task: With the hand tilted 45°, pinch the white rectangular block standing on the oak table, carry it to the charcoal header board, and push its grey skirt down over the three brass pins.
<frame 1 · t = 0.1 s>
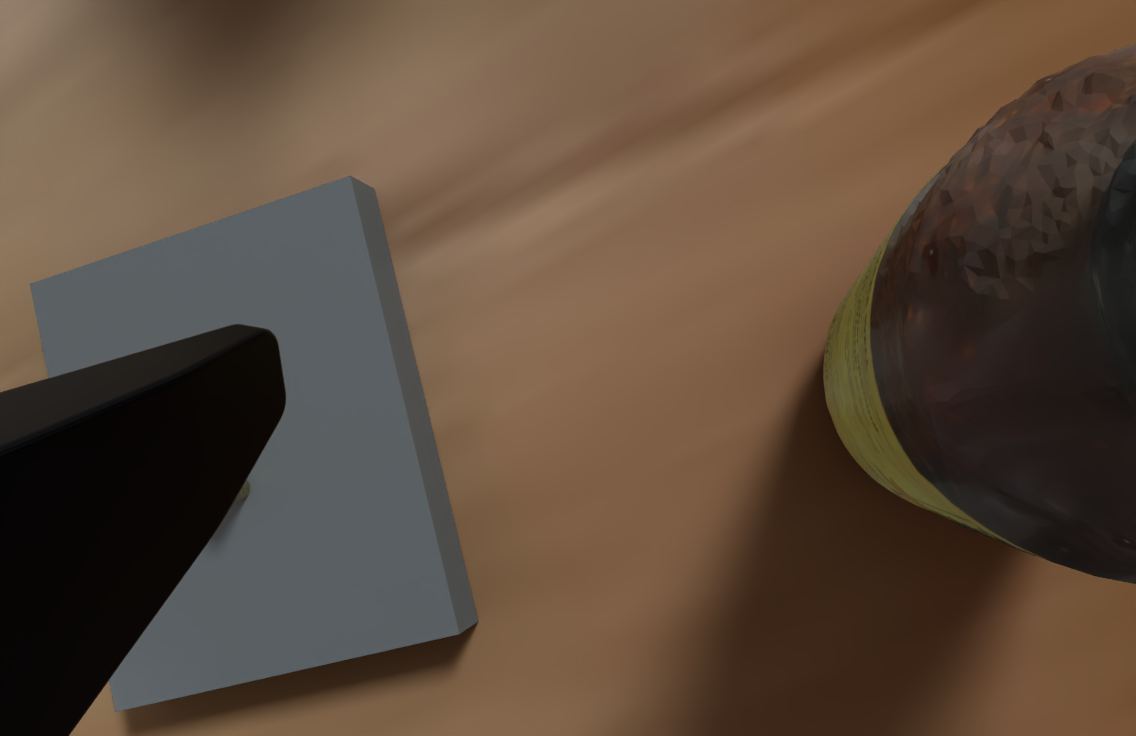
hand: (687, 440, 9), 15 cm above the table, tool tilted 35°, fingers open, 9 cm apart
sauce bottle: (959, 372, 23), on the table
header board: (261, 446, 27), on the table
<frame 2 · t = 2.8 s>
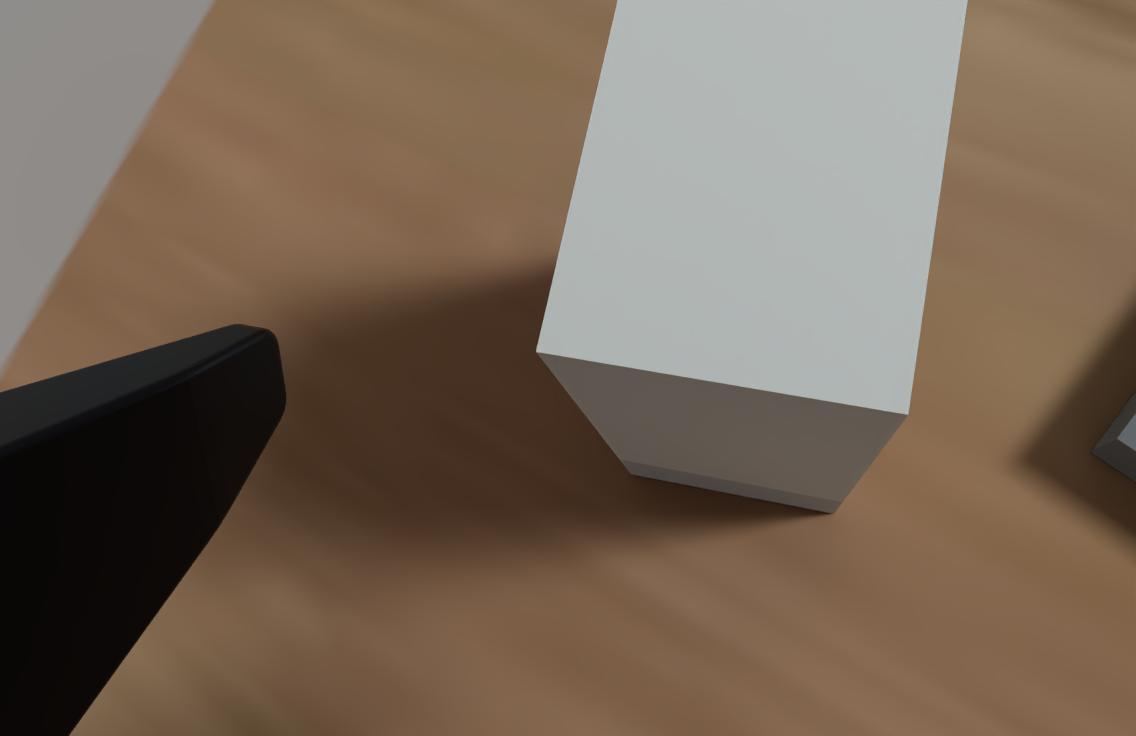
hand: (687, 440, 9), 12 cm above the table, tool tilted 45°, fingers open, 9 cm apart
white rectangular block: (751, 372, 21), on the table
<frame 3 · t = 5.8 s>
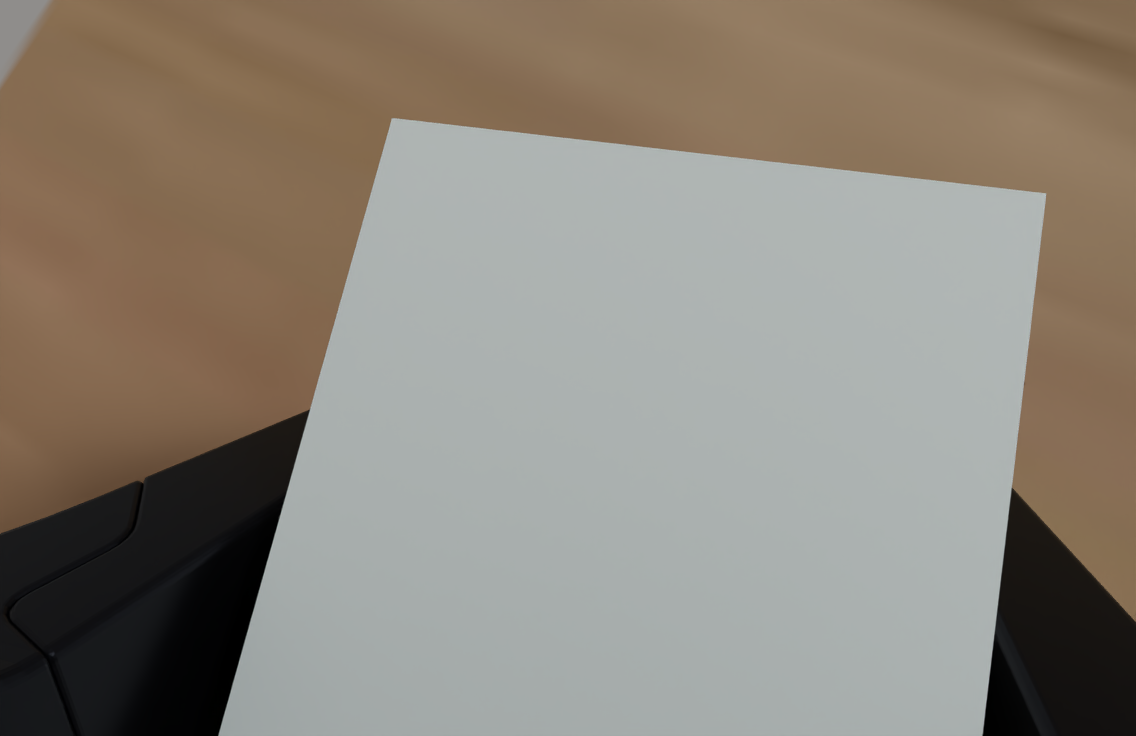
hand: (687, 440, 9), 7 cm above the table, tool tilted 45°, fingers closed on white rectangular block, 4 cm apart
white rectangular block: (696, 600, 15), on the table, touching gripper
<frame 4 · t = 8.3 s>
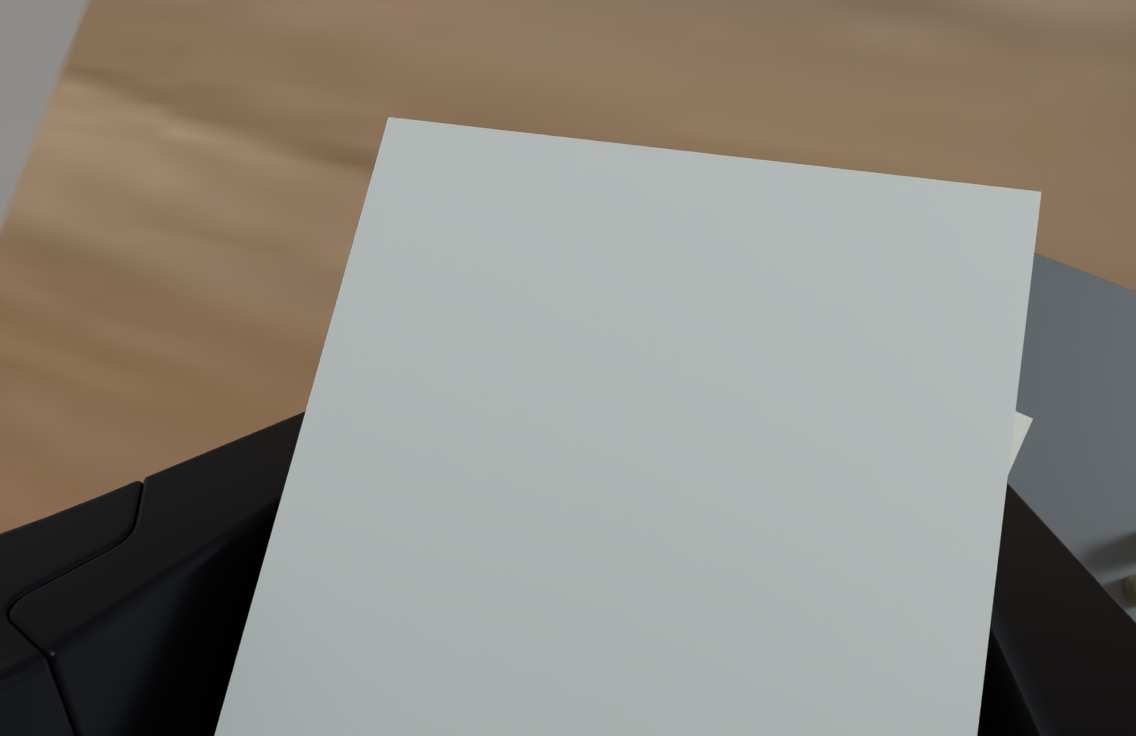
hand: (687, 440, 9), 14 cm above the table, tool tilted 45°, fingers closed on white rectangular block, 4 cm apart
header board: (1111, 592, 21), on the table
white rectangular block: (695, 599, 15), point 7 cm above the table, touching gripper
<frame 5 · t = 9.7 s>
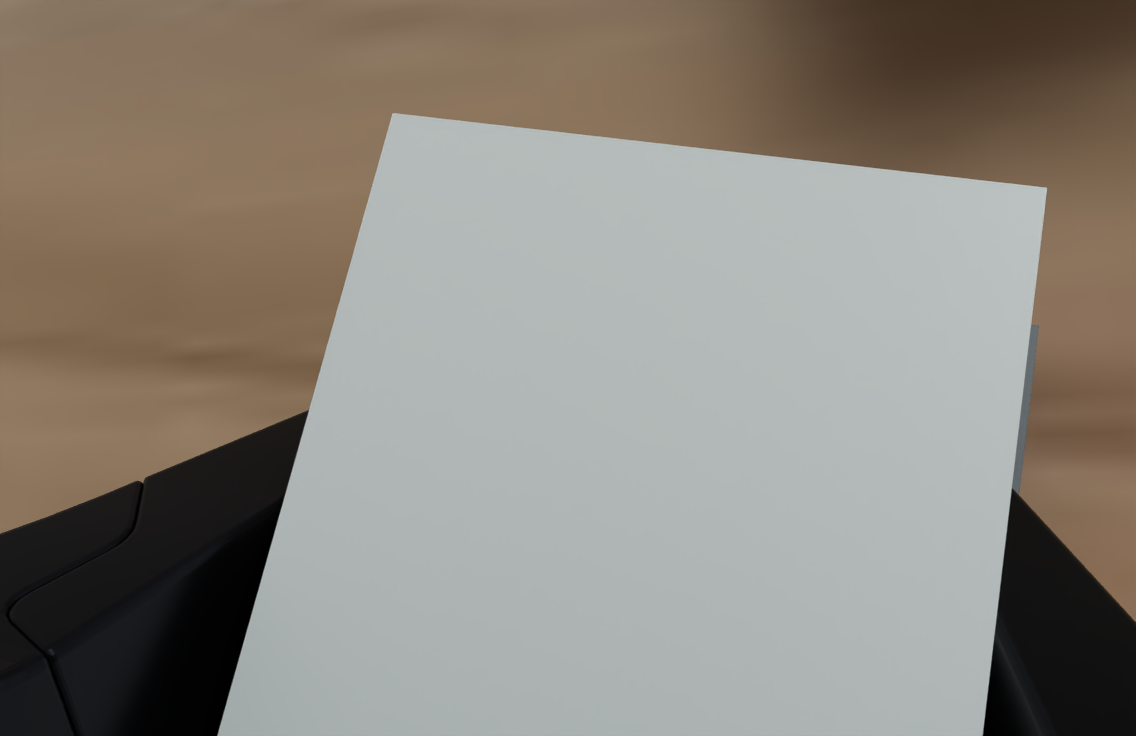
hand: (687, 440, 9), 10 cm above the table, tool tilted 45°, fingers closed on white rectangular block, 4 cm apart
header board: (708, 599, 19), on the table
white rectangular block: (697, 598, 15), point 4 cm above the table, touching gripper
when the fingers open (8 cm above the table, at t = 11.0 s): white rectangular block stays where it is, resting on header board.
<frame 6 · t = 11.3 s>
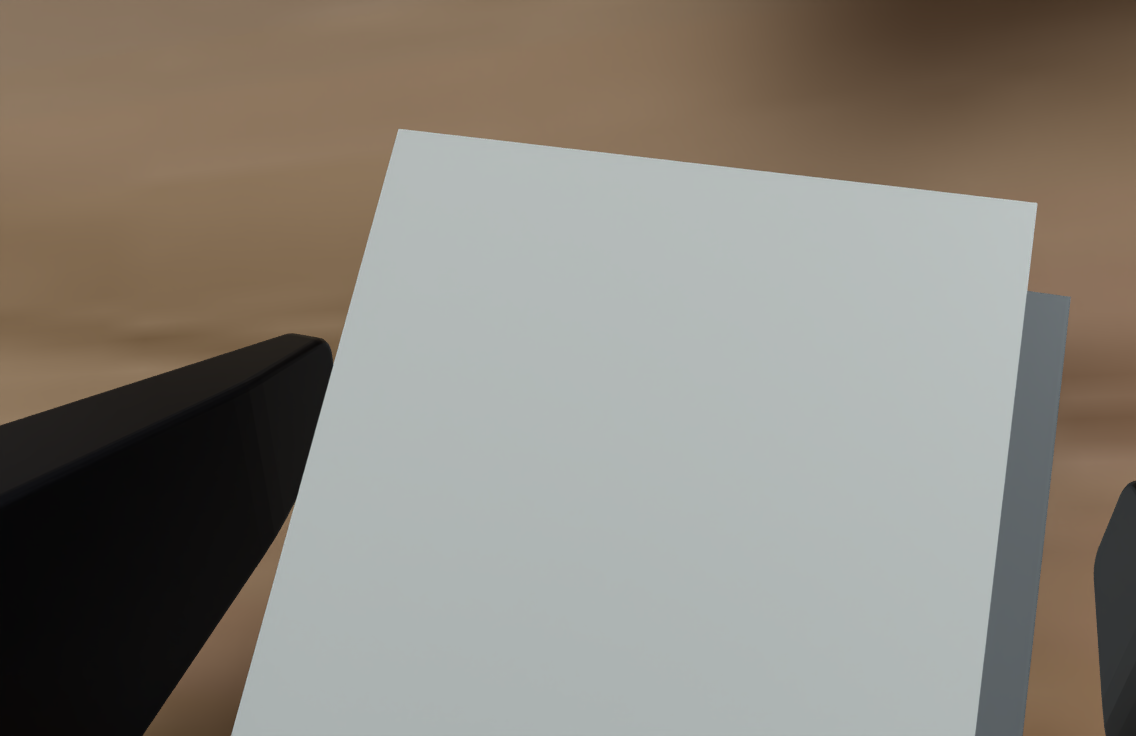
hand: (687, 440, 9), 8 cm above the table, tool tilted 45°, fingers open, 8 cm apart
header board: (702, 601, 17), on the table
white rectangular block: (696, 599, 16), point 1 cm above the table, touching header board
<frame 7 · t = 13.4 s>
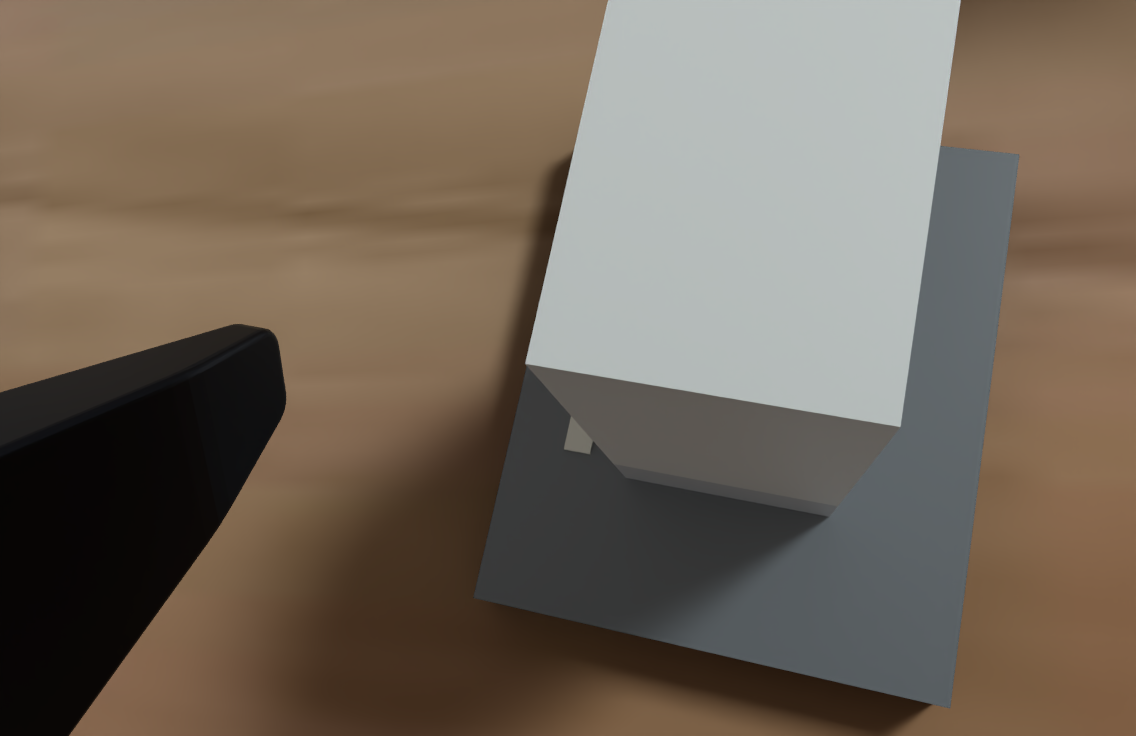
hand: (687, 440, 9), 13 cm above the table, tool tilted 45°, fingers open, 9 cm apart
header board: (748, 390, 23), on the table
white rectangular block: (746, 374, 21), point 1 cm above the table, touching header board
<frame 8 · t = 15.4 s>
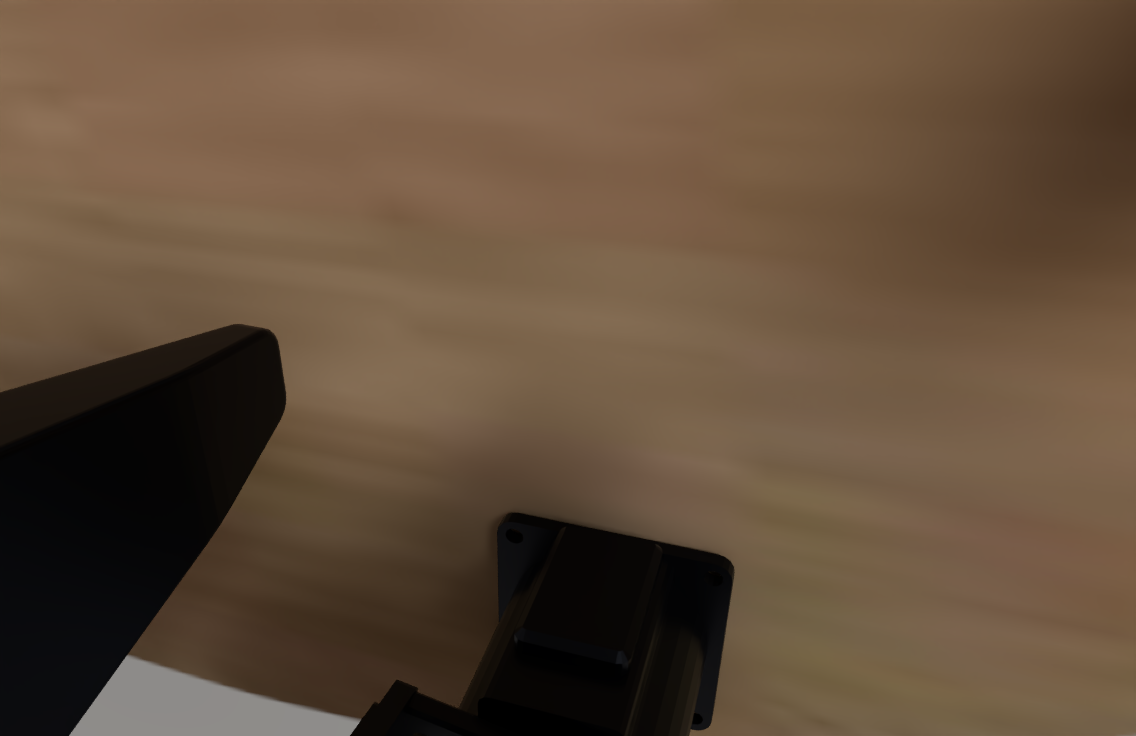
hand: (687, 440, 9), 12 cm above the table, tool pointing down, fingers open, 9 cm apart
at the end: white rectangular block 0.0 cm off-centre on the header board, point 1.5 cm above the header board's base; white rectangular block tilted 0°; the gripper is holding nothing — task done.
